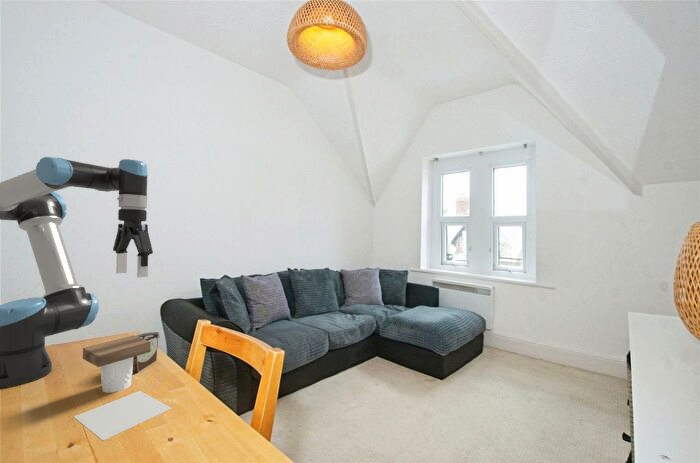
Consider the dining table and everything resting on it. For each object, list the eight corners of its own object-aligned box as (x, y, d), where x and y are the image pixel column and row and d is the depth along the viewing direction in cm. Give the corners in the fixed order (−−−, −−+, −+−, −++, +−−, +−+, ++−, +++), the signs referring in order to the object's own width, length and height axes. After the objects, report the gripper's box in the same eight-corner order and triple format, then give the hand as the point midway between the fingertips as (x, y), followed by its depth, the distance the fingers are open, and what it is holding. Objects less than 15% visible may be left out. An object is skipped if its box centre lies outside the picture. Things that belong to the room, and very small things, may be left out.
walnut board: (82, 358, 89) (82, 348, 89) (133, 344, 101) (133, 335, 101) (98, 367, 84) (98, 356, 84) (150, 351, 95) (150, 341, 95)
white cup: (115, 398, 88) (116, 362, 88) (92, 394, 89) (92, 359, 89) (139, 384, 95) (140, 351, 95) (118, 381, 97) (118, 348, 97)
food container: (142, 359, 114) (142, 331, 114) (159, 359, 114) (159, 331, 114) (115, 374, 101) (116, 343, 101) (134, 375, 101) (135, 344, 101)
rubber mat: (73, 419, 78) (73, 416, 78) (140, 393, 90) (140, 390, 90) (102, 444, 69) (103, 440, 69) (171, 411, 82) (171, 408, 82)
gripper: (101, 208, 106) (100, 272, 106) (139, 207, 93) (138, 280, 93) (126, 210, 112) (125, 270, 112) (166, 209, 99) (164, 277, 99)
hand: (131, 275), depth 102 cm, fingers open, 13 cm apart
